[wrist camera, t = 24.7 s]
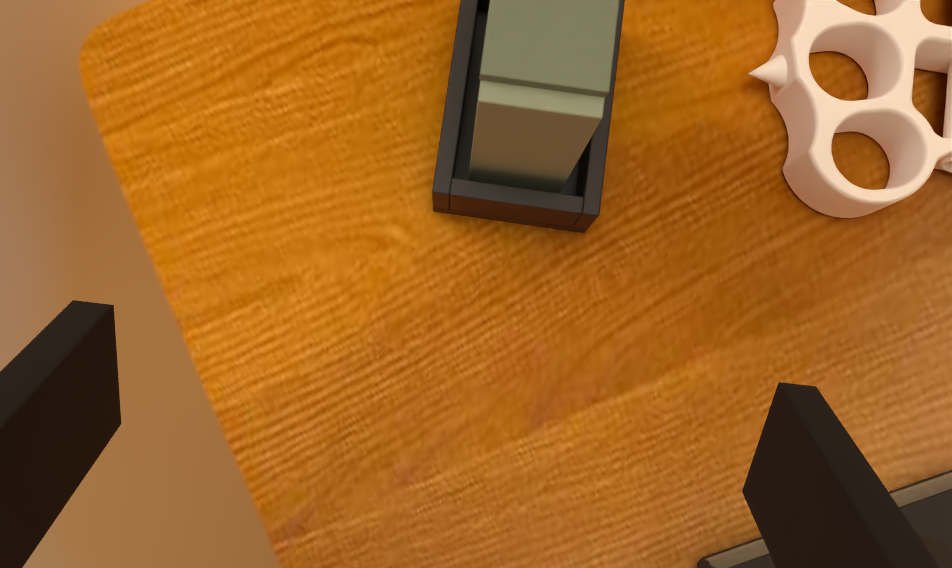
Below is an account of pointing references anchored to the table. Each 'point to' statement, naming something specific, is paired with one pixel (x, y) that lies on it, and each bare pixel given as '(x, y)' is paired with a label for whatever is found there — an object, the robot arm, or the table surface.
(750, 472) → the robot arm
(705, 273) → the table surface
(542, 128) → the grey-green lidded box
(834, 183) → the knuckle duster
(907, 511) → the book
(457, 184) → the socket
